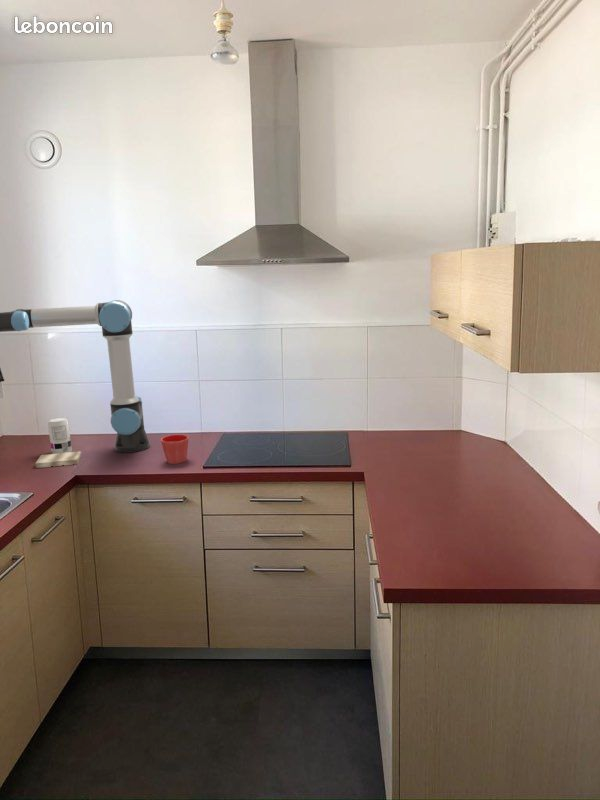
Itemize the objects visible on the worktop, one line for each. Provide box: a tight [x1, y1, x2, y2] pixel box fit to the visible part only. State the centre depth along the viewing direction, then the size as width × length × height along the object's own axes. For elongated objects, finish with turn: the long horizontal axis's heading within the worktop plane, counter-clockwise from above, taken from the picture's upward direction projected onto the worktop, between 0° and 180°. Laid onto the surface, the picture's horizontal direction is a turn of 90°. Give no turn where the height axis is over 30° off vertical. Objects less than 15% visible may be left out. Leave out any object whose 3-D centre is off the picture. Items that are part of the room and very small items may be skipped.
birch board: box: [34, 451, 82, 469], centre depth 257 cm, size 16×12×2 cm
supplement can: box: [47, 417, 73, 454], centre depth 268 cm, size 8×8×15 cm
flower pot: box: [160, 434, 189, 465], centre depth 251 cm, size 11×11×10 cm
